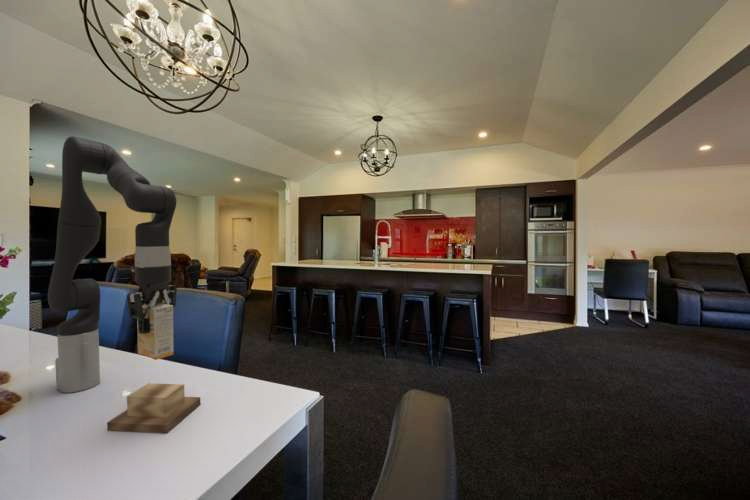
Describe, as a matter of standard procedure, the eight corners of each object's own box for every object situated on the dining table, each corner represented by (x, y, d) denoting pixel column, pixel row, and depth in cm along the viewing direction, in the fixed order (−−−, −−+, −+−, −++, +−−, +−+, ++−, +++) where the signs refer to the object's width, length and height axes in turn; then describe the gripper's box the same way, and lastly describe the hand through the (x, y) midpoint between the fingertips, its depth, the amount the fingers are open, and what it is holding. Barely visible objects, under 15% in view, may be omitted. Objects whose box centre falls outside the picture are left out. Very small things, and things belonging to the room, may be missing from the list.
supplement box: (136, 354, 81) (135, 304, 81) (156, 348, 85) (155, 300, 85) (154, 360, 77) (153, 307, 77) (174, 354, 82) (173, 304, 81)
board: (107, 430, 76) (107, 422, 76) (149, 402, 89) (149, 395, 89) (167, 433, 75) (166, 425, 75) (200, 404, 88) (200, 397, 88)
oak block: (127, 415, 79) (126, 396, 78) (149, 401, 86) (148, 383, 85) (165, 417, 78) (165, 397, 78) (184, 402, 85) (184, 384, 85)
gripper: (160, 261, 88) (161, 321, 88) (114, 266, 73) (116, 337, 74) (186, 262, 87) (187, 322, 88) (145, 267, 73) (146, 338, 74)
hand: (154, 329), depth 81 cm, fingers closed on supplement box, 6 cm apart
